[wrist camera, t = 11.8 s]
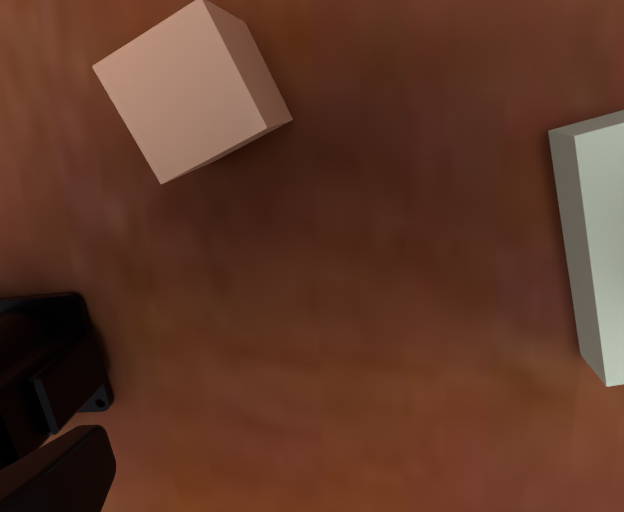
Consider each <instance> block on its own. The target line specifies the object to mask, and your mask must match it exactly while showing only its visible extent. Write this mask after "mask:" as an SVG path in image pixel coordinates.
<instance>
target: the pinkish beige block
mask: <svg viewBox="0 0 624 512" xmlns="http://www.w3.org/2000/svg"><path fill="white" fill-rule="evenodd" d="M92 68H93V69H94V71H95V73H96V74H97V76H98V78H99V79H100V81H101V83H102V85H103V86H104V88H105V90H106V91H107V93H108V95H109V97H110V98H111V100H112V102H113V103H114V105H115V107H116V109H117V110H118V112H119V114H120V115H121V117H122V119H123V120H124V122H125V124H126V126H127V127H128V129H129V131H130V132H131V134H132V136H133V138H134V139H135V141H136V143H137V144H138V146H139V148H140V150H141V151H142V153H143V155H144V156H145V158H146V160H147V162H148V163H149V165H150V167H151V168H152V170H153V172H154V173H155V175H156V177H157V179H158V180H159V182H160V184H164V183H166V182H168V181H171V180H173V179H175V178H178V177H180V176H182V175H185V174H187V173H189V172H192V171H194V170H196V169H199V168H201V167H203V166H206V165H208V164H210V163H212V162H214V161H216V160H218V159H220V158H222V157H224V156H225V155H227V154H229V153H231V152H233V151H235V150H237V149H239V148H241V147H242V146H244V145H246V144H248V143H250V142H252V141H254V140H256V139H258V138H259V137H261V136H263V135H265V134H267V133H269V132H271V131H273V130H275V129H276V128H278V127H280V126H282V125H284V124H286V123H288V122H290V121H292V120H293V119H292V117H291V115H290V112H289V110H288V108H287V106H286V104H285V102H284V100H283V98H282V96H281V94H280V92H279V90H278V88H277V86H276V84H275V82H274V80H273V78H272V76H271V74H270V72H269V70H268V68H267V66H266V64H265V62H264V60H263V58H262V55H261V53H260V51H259V49H258V47H257V45H256V43H255V41H254V39H253V37H252V35H251V33H250V31H249V29H248V27H247V25H246V23H245V22H244V21H242V20H240V19H239V18H237V17H235V16H233V15H232V14H230V13H228V12H226V11H225V10H223V9H221V8H219V7H218V6H216V5H214V4H212V3H211V2H209V1H207V0H195V1H194V2H192V3H190V4H189V5H187V6H186V7H184V8H183V9H181V10H179V11H178V12H176V13H175V14H173V15H172V16H170V17H168V18H167V19H165V20H164V21H162V22H161V23H159V24H158V25H156V26H154V27H153V28H151V29H150V30H148V31H147V32H145V33H143V34H142V35H140V36H139V37H137V38H136V39H134V40H133V41H131V42H129V43H128V44H126V45H125V46H123V47H122V48H120V49H118V50H117V51H115V52H114V53H112V54H111V55H109V56H107V57H106V58H104V59H103V60H101V61H100V62H98V63H97V64H95V65H93V66H92Z"/></svg>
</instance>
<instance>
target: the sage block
mask: <svg viewBox="0 0 624 512" xmlns="http://www.w3.org/2000/svg"><path fill="white" fill-rule="evenodd" d="M548 135H549V142H550V148H551V155H552V162H553V169H554V176H555V183H556V190H557V197H558V203H559V210H560V217H561V224H562V231H563V238H564V245H565V251H566V258H567V265H568V272H569V279H570V286H571V293H572V300H573V306H574V313H575V320H576V327H577V334H578V341H579V348H580V354H581V356H582V357H583V358H584V360H585V361H586V362H587V363H588V365H589V366H590V367H591V368H592V369H593V371H594V372H595V373H596V374H597V376H598V377H599V378H600V379H601V380H602V382H603V383H604V384H605V385H606V387H609V386H615V385H621V384H624V110H621V111H618V112H614V113H611V114H607V115H603V116H600V117H596V118H592V119H589V120H585V121H581V122H578V123H574V124H571V125H567V126H563V127H560V128H556V129H552V130H549V131H548Z"/></svg>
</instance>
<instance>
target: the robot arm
mask: <svg viewBox="0 0 624 512" xmlns="http://www.w3.org/2000/svg"><path fill="white" fill-rule="evenodd" d="M69 301H71V302H72V303H73V305H74V307H73V306H71V305H70V303H69ZM100 399H101V400H103V401H104V402H102V401H101V400H100ZM112 404H113V396H112V393H111V390H110V386H109V383H108V380H107V375H106V372H105V369H104V366H103V362H102V359H101V356H100V353H99V349H98V346H97V343H96V340H95V337H94V334H93V331H92V328H91V325H90V321H89V318H88V315H87V312H86V308H85V305H84V302H83V300H82V298H81V297H80V296H79V295H78V294H76V293H71V292H70V293H58V294H46V295H34V296H21V297H9V298H0V512H101V510H102V507H103V505H104V502H105V500H106V497H107V495H108V492H109V489H110V487H111V484H112V482H113V479H114V476H115V472H116V461H115V457H114V454H113V451H112V448H111V445H110V442H109V438H108V435H107V432H106V430H105V429H104V428H103V427H102V426H100V425H81V426H78V427H75V428H74V429H72V430H70V431H68V432H67V433H65V434H63V435H62V436H60V437H58V438H56V439H55V440H53V441H51V442H49V443H48V444H46V445H44V446H42V445H43V443H44V442H45V441H46V440H47V439H48V438H49V437H50V436H51V435H56V434H57V433H59V431H60V430H61V429H62V428H63V427H64V426H65V425H66V424H67V423H68V422H69V421H70V419H71V418H72V417H73V416H74V415H75V414H76V413H78V412H103V411H106V410H108V409H109V407H110V406H111V405H112ZM41 446H42V447H41ZM40 447H41V448H40Z"/></svg>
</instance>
